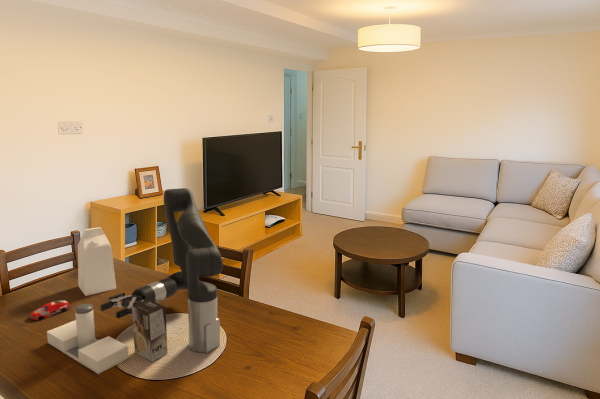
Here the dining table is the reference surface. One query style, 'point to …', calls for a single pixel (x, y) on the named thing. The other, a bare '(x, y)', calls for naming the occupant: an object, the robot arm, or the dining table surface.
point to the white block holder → (88, 348)
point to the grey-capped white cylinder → (85, 325)
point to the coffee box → (149, 329)
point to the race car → (50, 310)
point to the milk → (95, 263)
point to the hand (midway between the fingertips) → (108, 311)
